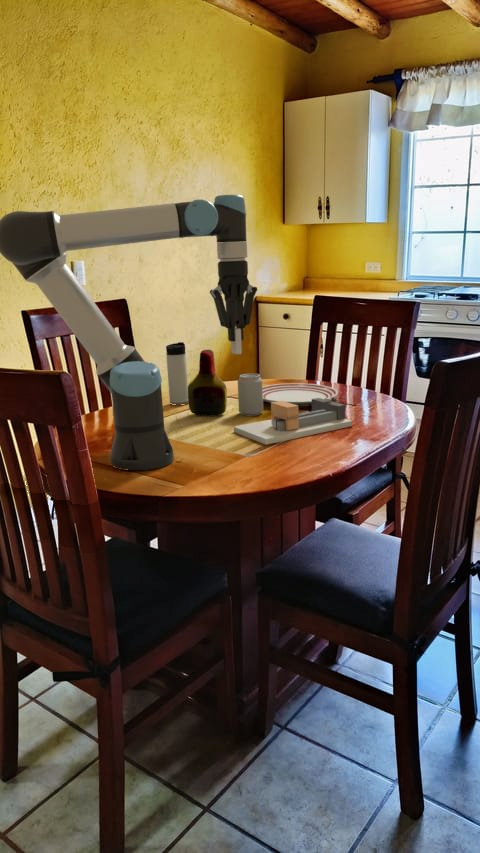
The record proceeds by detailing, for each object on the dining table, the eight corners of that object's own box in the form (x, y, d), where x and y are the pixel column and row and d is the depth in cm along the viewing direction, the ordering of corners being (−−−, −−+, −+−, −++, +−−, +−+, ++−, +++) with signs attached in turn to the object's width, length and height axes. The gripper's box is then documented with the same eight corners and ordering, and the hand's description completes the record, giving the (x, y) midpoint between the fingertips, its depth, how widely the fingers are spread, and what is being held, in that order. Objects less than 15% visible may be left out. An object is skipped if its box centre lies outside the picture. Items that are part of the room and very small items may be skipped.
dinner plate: (350, 395, 223) (351, 385, 222) (315, 413, 201) (315, 403, 200) (278, 389, 237) (278, 380, 236) (238, 406, 215) (237, 396, 214)
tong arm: (276, 428, 178) (275, 420, 177) (272, 427, 179) (272, 419, 179) (326, 418, 186) (326, 410, 186) (323, 417, 188) (323, 409, 187)
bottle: (230, 412, 206) (226, 348, 201) (224, 417, 200) (221, 351, 195) (192, 412, 208) (189, 348, 203) (186, 417, 202) (182, 351, 197)
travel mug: (193, 402, 222) (189, 342, 217) (181, 406, 216) (177, 345, 211) (178, 401, 225) (174, 341, 220) (166, 405, 220) (161, 344, 215)
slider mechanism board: (265, 444, 170) (265, 420, 169) (234, 431, 184) (232, 408, 182) (352, 426, 184) (352, 403, 183) (316, 415, 198) (316, 393, 196)
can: (261, 416, 199) (259, 377, 196) (236, 416, 201) (234, 377, 198) (265, 410, 206) (264, 372, 203) (241, 410, 208) (239, 372, 205)
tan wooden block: (288, 430, 176) (287, 407, 174) (271, 424, 182) (270, 402, 181) (298, 428, 178) (298, 405, 176) (282, 422, 184) (281, 400, 183)
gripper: (246, 259, 174) (250, 349, 180) (202, 261, 167) (207, 354, 173) (262, 258, 167) (265, 352, 173) (217, 261, 161) (222, 358, 167)
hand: (236, 353), depth 173 cm, fingers closed
